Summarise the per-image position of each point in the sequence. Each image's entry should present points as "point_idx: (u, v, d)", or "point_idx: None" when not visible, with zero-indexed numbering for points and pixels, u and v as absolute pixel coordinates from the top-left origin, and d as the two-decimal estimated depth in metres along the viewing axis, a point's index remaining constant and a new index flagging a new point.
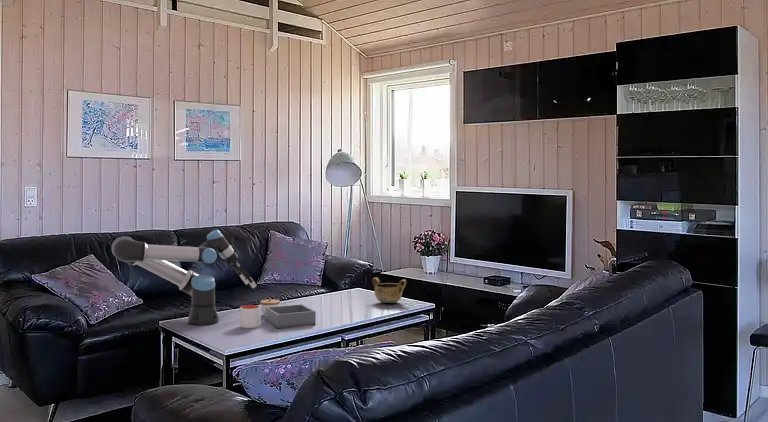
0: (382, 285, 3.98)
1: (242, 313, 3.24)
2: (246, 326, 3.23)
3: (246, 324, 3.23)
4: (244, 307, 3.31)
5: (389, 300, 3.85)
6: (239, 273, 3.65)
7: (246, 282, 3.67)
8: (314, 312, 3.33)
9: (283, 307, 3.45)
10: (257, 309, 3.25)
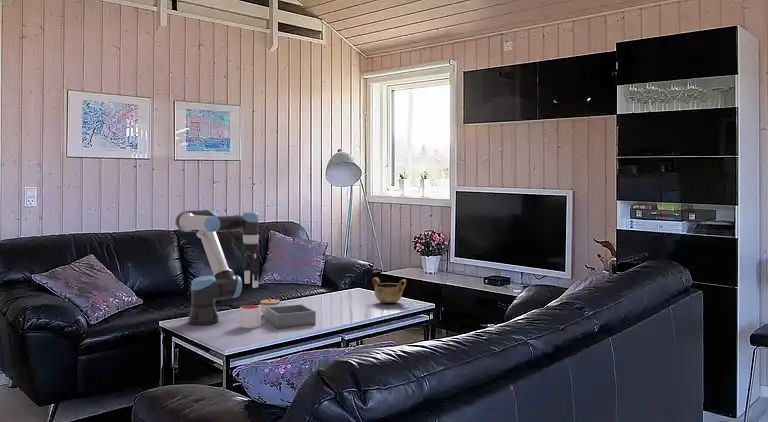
0: (382, 285, 3.98)
1: (242, 313, 3.24)
2: (246, 326, 3.23)
3: (246, 324, 3.23)
4: (244, 307, 3.31)
5: (389, 300, 3.85)
6: (245, 268, 3.34)
7: (246, 281, 3.34)
8: (314, 312, 3.33)
9: (283, 307, 3.45)
10: (257, 309, 3.25)
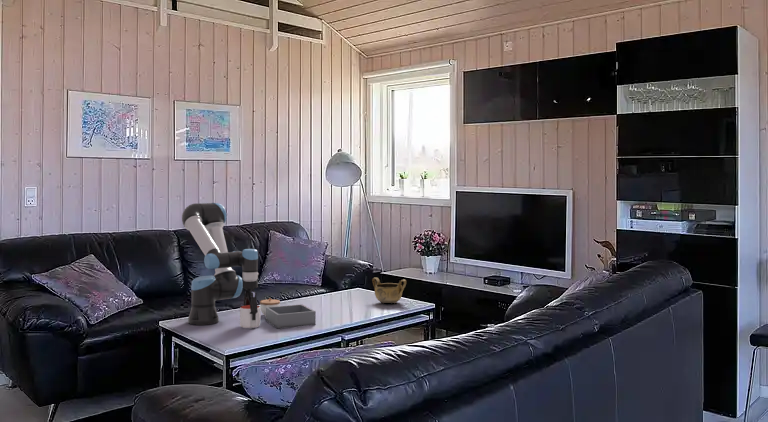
0: (382, 285, 3.98)
1: (242, 313, 3.24)
2: (246, 326, 3.23)
3: (246, 324, 3.23)
4: (244, 307, 3.31)
5: (389, 300, 3.85)
6: None
7: None
8: (314, 312, 3.33)
9: (283, 307, 3.45)
10: (257, 309, 3.25)
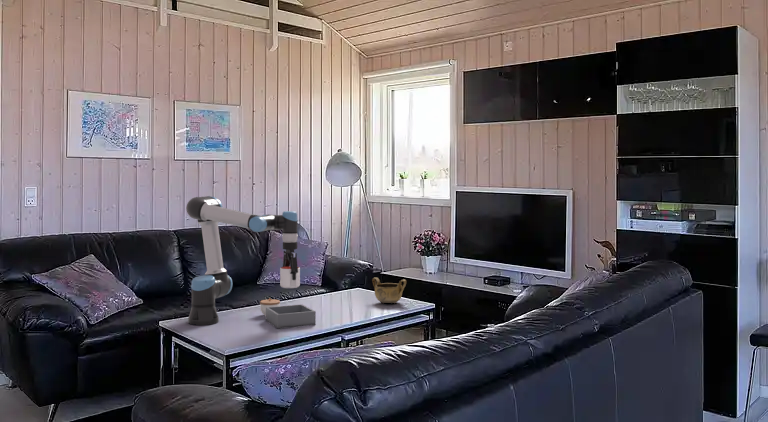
0: (382, 285, 3.98)
1: (282, 273, 3.32)
2: (286, 286, 3.32)
3: (286, 284, 3.32)
4: (284, 268, 3.39)
5: (389, 300, 3.85)
6: None
7: None
8: (314, 312, 3.33)
9: (283, 307, 3.45)
10: None
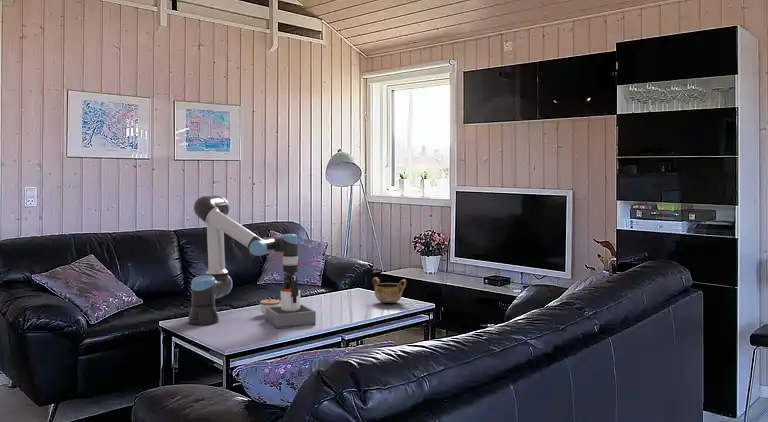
0: (382, 285, 3.98)
1: (283, 296, 3.33)
2: (287, 309, 3.33)
3: (287, 307, 3.33)
4: (284, 291, 3.40)
5: (389, 300, 3.85)
6: None
7: None
8: (314, 312, 3.33)
9: None
10: None
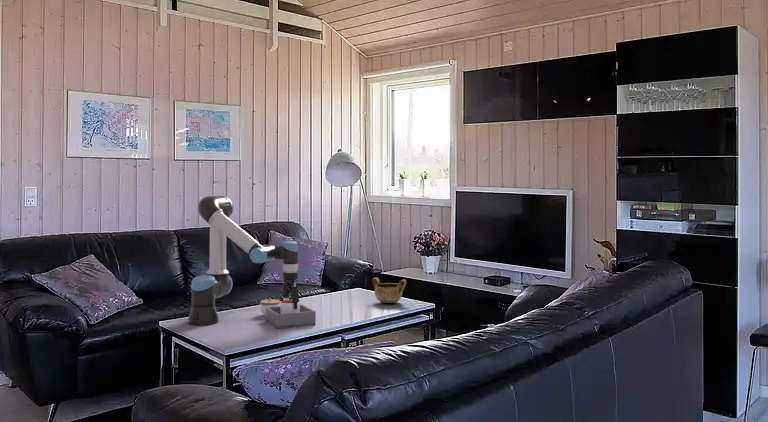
0: (382, 285, 3.98)
1: (283, 307, 3.33)
2: None
3: None
4: (284, 302, 3.40)
5: (389, 300, 3.85)
6: (285, 296, 3.43)
7: None
8: (314, 312, 3.33)
9: None
10: None
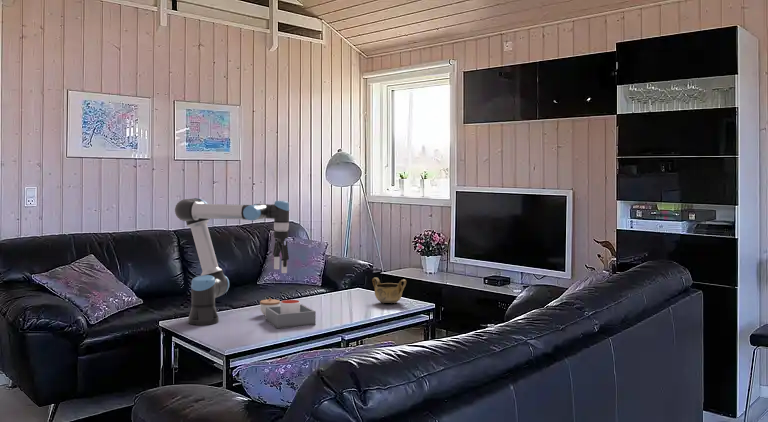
0: (382, 285, 3.98)
1: (283, 307, 3.34)
2: None
3: None
4: (284, 302, 3.40)
5: (389, 300, 3.85)
6: (275, 255, 3.48)
7: (275, 267, 3.48)
8: (314, 312, 3.33)
9: None
10: (297, 303, 3.35)
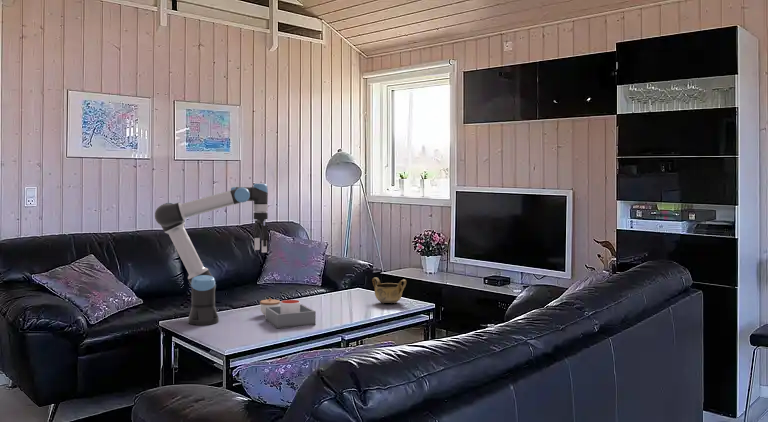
0: (382, 285, 3.98)
1: (283, 307, 3.34)
2: None
3: None
4: (284, 302, 3.40)
5: (389, 300, 3.85)
6: (256, 236, 3.61)
7: (256, 248, 3.61)
8: (314, 312, 3.33)
9: None
10: (297, 303, 3.35)
